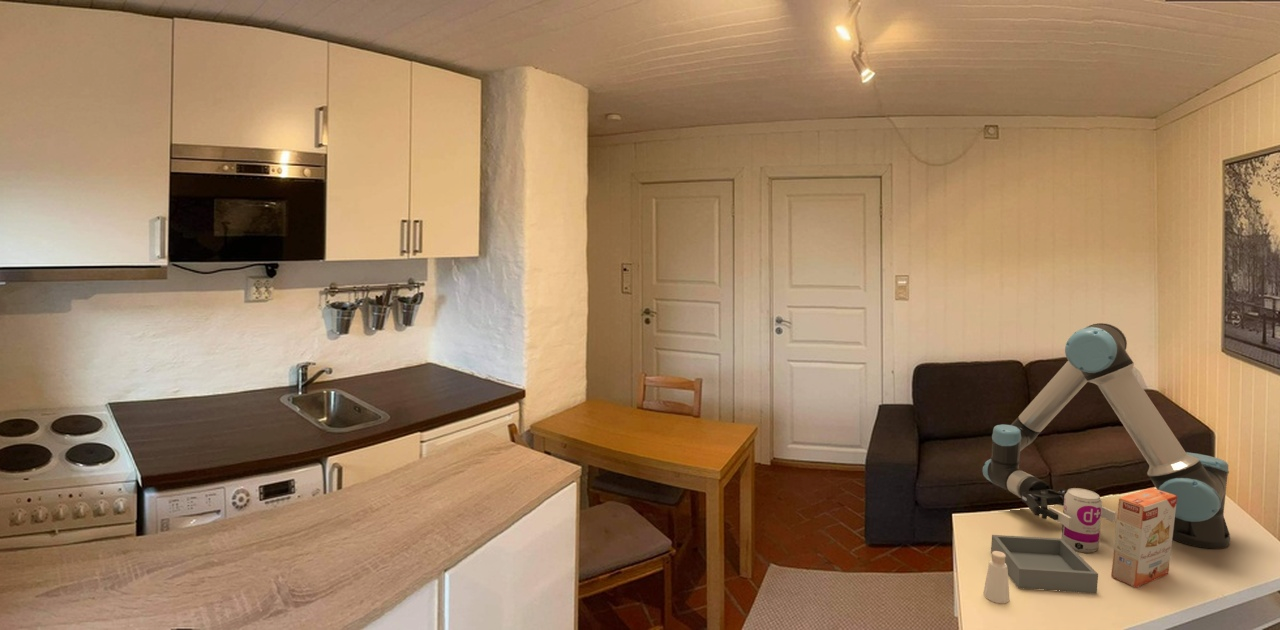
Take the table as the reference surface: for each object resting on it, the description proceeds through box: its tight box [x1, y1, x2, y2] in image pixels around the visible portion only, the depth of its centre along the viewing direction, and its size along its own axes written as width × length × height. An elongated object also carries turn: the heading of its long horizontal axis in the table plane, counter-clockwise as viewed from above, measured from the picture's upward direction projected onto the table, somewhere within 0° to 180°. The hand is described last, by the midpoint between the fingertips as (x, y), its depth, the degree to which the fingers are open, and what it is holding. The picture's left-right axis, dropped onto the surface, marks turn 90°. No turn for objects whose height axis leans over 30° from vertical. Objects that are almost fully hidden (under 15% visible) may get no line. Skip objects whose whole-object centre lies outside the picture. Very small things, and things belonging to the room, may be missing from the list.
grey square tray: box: [990, 534, 1099, 595], centre depth 155 cm, size 17×17×5 cm
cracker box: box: [1111, 487, 1177, 588], centre depth 151 cm, size 14×6×21 cm, turn 114°
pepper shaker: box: [983, 551, 1011, 605], centre depth 145 cm, size 5×5×11 cm
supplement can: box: [1060, 487, 1103, 554], centre depth 166 cm, size 8×8×15 cm
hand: (1092, 520), depth 163 cm, fingers open, 13 cm apart
